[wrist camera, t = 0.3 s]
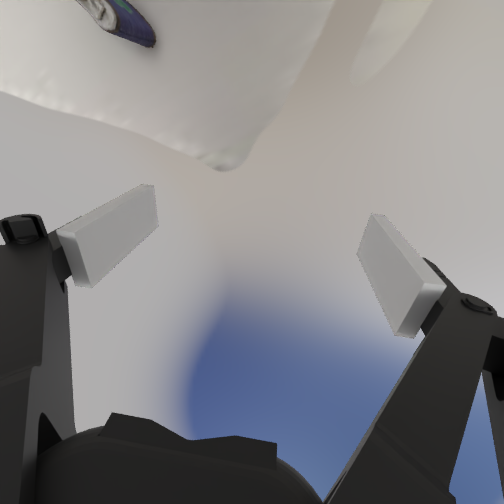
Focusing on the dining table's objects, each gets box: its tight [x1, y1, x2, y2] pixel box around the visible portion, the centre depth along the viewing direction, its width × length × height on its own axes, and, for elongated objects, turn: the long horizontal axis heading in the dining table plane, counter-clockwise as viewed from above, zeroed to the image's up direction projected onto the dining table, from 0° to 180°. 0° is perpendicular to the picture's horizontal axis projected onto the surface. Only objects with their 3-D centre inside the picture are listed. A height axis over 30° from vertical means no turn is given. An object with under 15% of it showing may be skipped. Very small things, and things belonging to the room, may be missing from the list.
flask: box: [76, 0, 156, 48], centre depth 28 cm, size 9×3×11 cm, turn 51°
